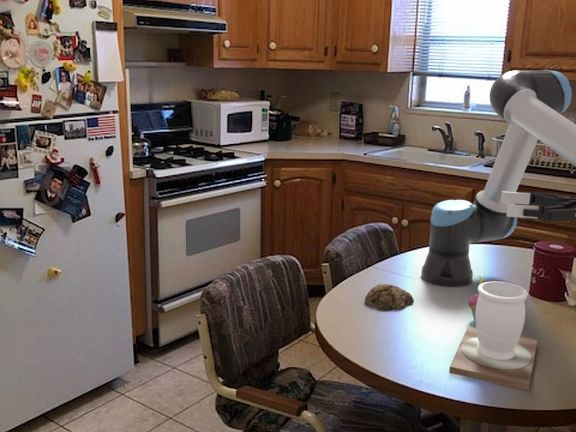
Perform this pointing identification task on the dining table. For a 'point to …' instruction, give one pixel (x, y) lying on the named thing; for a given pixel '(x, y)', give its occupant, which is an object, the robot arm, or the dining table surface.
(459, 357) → the board
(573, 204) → the robot arm
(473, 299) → the cupcake
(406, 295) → the bread roll
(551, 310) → the dining table surface
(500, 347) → the jar
